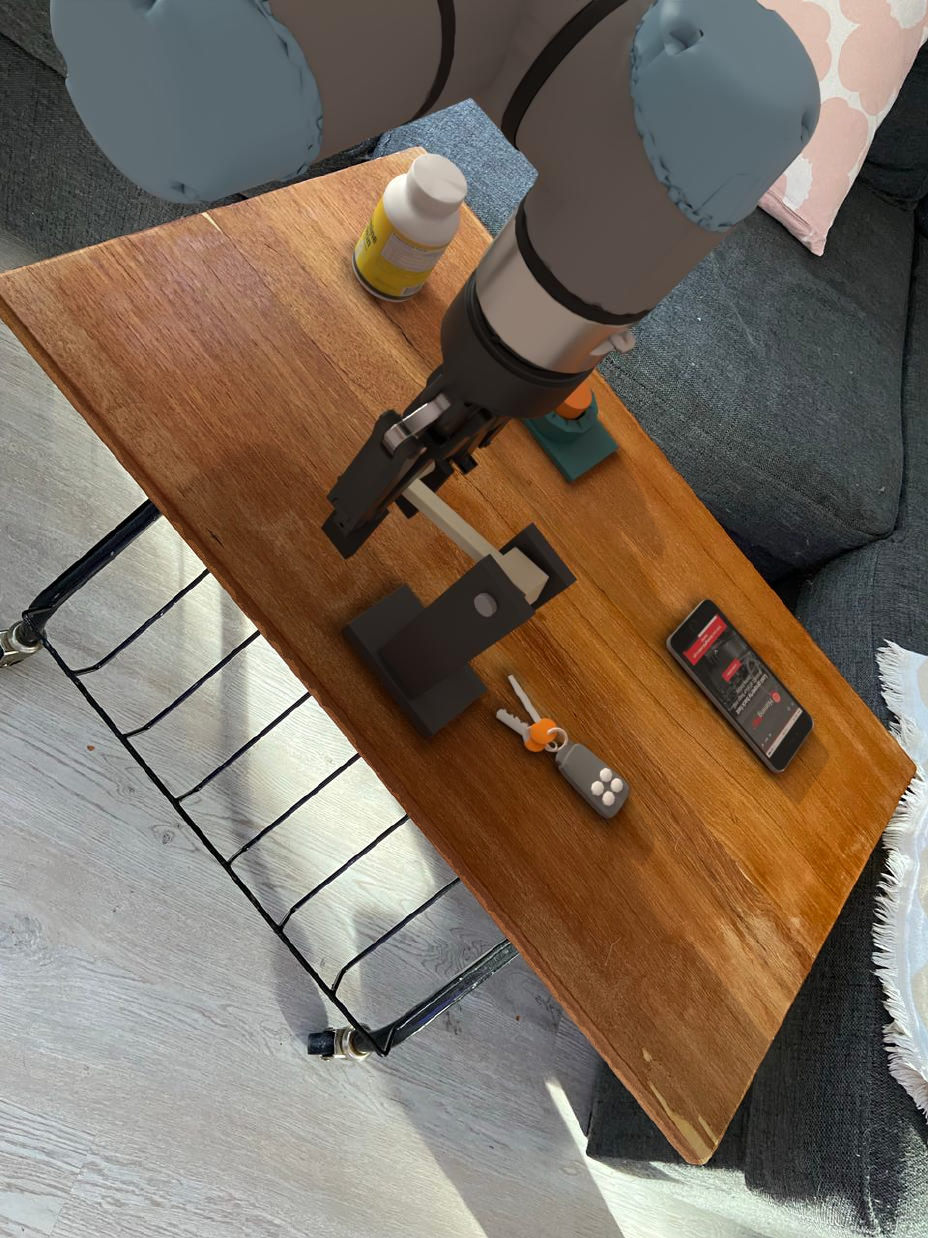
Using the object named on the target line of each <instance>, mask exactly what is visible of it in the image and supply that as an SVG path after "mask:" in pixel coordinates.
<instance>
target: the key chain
mask: <svg viewBox="0 0 928 1238" xmlns="http://www.w3.org/2000/svg"><path fill="white" fill-rule="evenodd" d="M507 678H508V681H509V682H510V684H511V686H512V688H513V690H514V693H515V694H516V696H517V697H518V699H520V701H521V703H522V705H523V708H524V709H525V710H526V712H528V714H529V715H530V717H531V719H532V720H533V722H534V723H533V724H532V725H531V726H530V725H529V724H528V723H527V722H521V720H520V718H519V717H518V716H514V714H512V713H510V714H509V713H507V709H505V708H503V709H502V708H500V709H499V710H498V711H496V716H495V717H496V719H498V720H499V721H501V722H502V723H503V724H505V725H507V726H508V727H509V728H511V729H512V730H514V731H515V732H516V733H518V734H519V735H521V736H522V740H523V745H524V747H525V748H526V749H527V750H528V751H531V752H533V753H537V752H542V751H543V750H546V751H548V752H550V753H551V752H552V753H557V754H556V755H555V763H557V764H558V771H559V772H560V773H561V775H562V776H563V778H565V780H566V781H567V782H568V783H569V784H570V785H571V786H572V787H573V788H574V789H575V791H576V792H577V793H578V794H579V795H580V796H581V798H583V799H584V800H585V801H586V803H588V805H589V806H591V808H593V810H594V811H595V812H596V813H597V814H598V815H600V817H603V818H604V819H606V820H607V819H611V818H612V817H615V816H616V815H617V814H618V812H619V811H620V810H621V808H622V806H623V805H624V803H625V801H626V799H627V798H628V796H629V793H630V786H629V785H628V783H627V782H626V780H625V779H624V778H623V777H622V776H620V775H619V774H618V773H617V772H616V771H615V770H613V769H612V768H611V767H610V766H609V765H608V764H606V763H605V762H604V761H603V760H602V759H601V758H599V756H597V755H596V754H594V752H592V750H590V749H589V748H588V747H586V746H585V745H583V744H581V743H580V742H578V743H574V742H573V741H569V737H568V733H567V732H566V731H565V730H564V729H562V728H560V727H557V724H556V723H555V722H554V720H553V719H550V718H549V717H546V718H541V716H540V714H539V713H538V712H537V710H536V709H535V707H533V705H532V703H531V701H530V698H528V696H527V694H526V693H525V691H523V689H522V687H521V686H520V684H519V683H518V681H517V679H516V678H515V677H514V675H513V674H511V675H509V676H507ZM558 732H559V733H560V734H562V736H563V738H564V741H563V744H562V745H561V746H560V747H558V744H557V742H556V741H555V738H556V737H557V735H558ZM549 743H553V744H554V745H555V746H554V747H552V746H550V744H549Z"/></svg>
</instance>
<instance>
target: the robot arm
mask: <svg viewBox="0 0 928 1238" xmlns="http://www.w3.org/2000/svg"><path fill="white" fill-rule="evenodd" d="M49 12H50V13H49V14H50V19H49V21H50V27H51V34H52V38H53V40H54V41H53V42H54V44H55V47H56V48H57V49H58V51H59V52H60V54H61V55H62V57H63V60H64V61H65V64H66V71H67V73H66V76H65V80H64V81H65V87H66V90H67V92H68V94H69V97H70V99H71V101H72V104H73V106H74V108H75V110H76V112H77V114H78V116H79V118H80V119H81V121H82V123H83V125H84V127H85V128H86V130H87V131H88V133H89V135H90V136H91V138H92V139H93V141H94V142H95V144H96V145H97V146H98V148H99V149H100V150H101V152H102V153H103V154H104V156H106V157H107V159H108V160H109V161H110V163H111V164H112V165H113V166H114V167H115V168H116V169H117V170H118V171H119V172H120V173H121V174H122V175H123V176H125V177H126V179H128V180H129V181H130V182H132V183H133V184H134V185H136V186H137V187H139V188H140V189H142V190H143V191H144V192H146V193H148V194H150V195H152V196H154V197H156V198H159V199H161V200H164V201H167V202H170V203H173V204H181V205H196V204H197V205H198V204H205V203H206V204H207V203H211V202H215V201H218V200H221V199H224V198H227V197H230V196H232V195H235V194H236V195H237V194H238V193H241V192H244V191H247V190H249V189H253V188H256V187H259V186H261V185H264V184H268V183H270V182H273V181H275V182H276V181H278V182H281V183H285V182H287V181H289V180H290V181H291V180H292V179H295V178H297V177H300V176H301V175H303V174H305V173H306V172H307V170H309V168H310V166H312V165H314V164H317V163H319V162H321V161H324V160H325V159H327V158H330V157H332V156H334V155H336V154H339V153H341V152H343V151H346V150H348V149H350V148H352V147H355V146H357V145H359V144H362V143H363V142H364V143H365V142H366V141H368V140H371V139H374V137H377V136H379V135H382V134H384V133H386V132H388V131H391V130H393V129H397V128H399V127H402V126H407V125H408V124H409V125H410V124H411V123H414V122H417V121H418V120H421V119H423V118H426V117H429V116H430V115H433V114H436V113H438V112H440V111H443V110H445V109H448V108H450V107H453V106H455V105H457V104H458V105H459V104H460V103H462V102H465V101H467V100H469V99H471V100H472V101H473V102H474V104H476V106H478V108H479V109H480V110H481V111H482V112H483V114H485V115H486V117H487V118H488V119H489V120H490V121H491V122H492V123H493V124H494V125H495V127H496V128H497V129H498V130H499V131H500V132H501V134H502V135H503V137H504V138H505V139H506V140H507V142H508V143H509V145H511V146H512V147H513V149H514V150H515V151H518V152H520V153H521V154H522V155H523V156H524V158H525V159H526V160H527V162H528V163H529V164H530V165H531V166H532V167H533V168H534V169H535V171H536V172H537V176H536V178H535V181H534V182H533V184H532V185H531V187H530V188H529V189H528V191H527V193H525V195H524V196H523V198H522V199H521V201H520V202H519V203H518V205H517V206H516V207H515V208H514V210H513V212H512V213H511V214H510V216H509V217H508V219H507V220H506V221H505V223H504V224H503V226H502V227H501V228H500V230H499V231H498V232H497V234H496V235H495V237H494V238H493V240H492V241H491V243H490V244H489V245H488V247H487V248H486V250H485V251H484V253H482V255H481V257H480V260H479V261H478V264H477V266H476V267H475V268H474V269H473V271H472V272H471V273H470V274H469V276H468V277H467V279H466V280H465V282H464V284H463V285H462V287H461V288H460V290H459V291H458V292H457V294H456V295H455V297H454V298H453V299H452V301H451V302H450V304H449V305H448V307H447V309H446V310H445V312H444V314H443V317H442V320H441V322H440V328H439V330H440V331H439V342H440V349H441V357H442V363H440V364H439V365H438V366H437V367H436V368H435V369H434V370H433V371H432V372H431V373H430V375H429V376H428V377H427V379H426V381H425V387H424V388H423V389H422V390H421V391H420V393H418V395H417V396H416V397H414V399H413V400H412V401H411V402H410V404H409V405H408V406H407V407H406V408H405V409H404V411H403V412H402V414H401V413H400V412H397V411H396V410H395V409H394V408H391V409H388V410H385V411H383V412H382V413H381V414H380V415H379V416H378V419H376V421H375V423H374V426H373V429H372V431H371V434H370V436H369V437H368V439H367V440H366V441H365V443H364V444H363V446H362V447H361V449H360V450H359V451H358V452H357V454H356V455H355V456H354V458H353V459H352V461H350V463H349V465H348V466H347V467H346V469H345V470H344V472H343V473H342V474H341V475H338V476H337V478H336V480H337V481H336V483H335V484H334V485H333V486H332V488H331V489H330V490H329V492H328V494H327V495H326V497H325V498H326V500H327V501H328V502H329V504H330V505H331V506H332V507H333V510H332V511H331V513H330V514H329V515H328V517H327V518H326V519H325V521H324V523H323V524H322V525H321V527H320V530H321V531H322V532H323V534H324V535H325V536H326V537H327V539H328V540H329V541H330V542H331V544H332V545H333V546H334V547H335V549H336V550H337V551H338V553H339V554H340V555H341V557H342V558H343V559H344V560H345V561H347V560H348V559H350V558H352V557H353V556H355V554H357V551H359V549H360V548H361V547H362V546H363V545H364V544H365V542H366V541H367V540H368V539H369V538H370V536H372V535H373V533H374V532H375V531H376V530H377V528H378V527H379V526H380V525H381V524H382V522H383V521H384V520H385V519H386V518H387V516H388V515H389V514H390V513H391V511H390V509H388V508H389V507H390V506H391V505H392V504H394V503H395V505H396V506H397V507H398V509H399V510H400V511H401V512H402V514H403V515H404V516H405V518H406V519H407V520H410V519H411V518H413V517H414V516H416V515H417V514H418V513H419V512H420V510H419V509H417V508H416V507H415V506H414V505H413V504H412V503H411V502H410V501H409V500H408V499H407V498H405V497H404V496H403V495H402V493H403V492H404V491H405V490H406V489H407V488H408V487H409V486H410V485H411V484H412V483H413V482H414V481H415V480H416V479H417V478H418V477H419V476H420V475H421V474H422V473H423V472H424V471H425V470H426V469H427V468H428V467H429V466H430V465H431V464H432V463H433V462H435V468H434V470H433V471H432V472H430V473H429V474H427V475H425V476H424V477H422V478H421V479H419V480H420V481H421V482H422V483H423V484H425V485H426V486H427V487H428V488H429V489H430V490H431V491H432V492H433V493H435V494H436V493H437V492H438V491H439V490H440V488H441V487H442V486H443V485H444V484H445V483H446V482H447V481H448V480H449V478H451V477H452V476H453V474H454V473H455V472H456V469H455V468H454V467H453V465H454V464H455V466H456V468H458V469H459V471H460V472H461V474H462V475H463V476H466V475H468V474H469V473H471V472H472V471H473V470H475V469H476V468H477V467H478V465H479V463H478V462H477V461H476V459H475V458H474V457H473V453H475V451H476V449H477V448H478V449H479V450H483V449H484V448H488V447H489V446H490V445H491V444H492V441H494V439H495V438H496V437H497V436H498V435H499V434H500V433H501V431H502V430H503V429H504V428H505V427H506V426H507V425H508V424H509V423H510V422H511V420H512V419H514V420H515V419H516V420H520V419H534V418H539V417H542V416H545V415H547V414H549V413H551V412H553V411H554V410H555V409H557V408H558V407H559V406H560V405H561V404H562V403H563V402H564V401H565V400H566V399H567V398H568V397H569V396H570V395H571V394H572V393H573V392H574V391H575V390H576V389H577V388H578V387H579V386H580V385H581V384H582V382H583V381H585V380H587V379H588V377H589V376H590V375H591V374H593V371H594V370H595V368H596V367H597V366H599V364H600V363H601V362H602V361H603V360H604V359H605V358H606V357H608V355H609V354H610V353H611V352H612V351H613V350H614V349H615V351H616V352H617V353H619V354H620V355H628V354H629V353H630V352H631V351H632V350H633V349H634V348H635V346H636V344H637V340H636V338H635V336H634V334H632V333H631V331H630V330H631V329H632V328H634V327H636V326H637V325H638V324H640V323H641V321H643V319H644V318H645V317H647V316H648V315H649V314H650V313H651V312H652V311H653V310H654V309H655V308H656V307H657V306H658V305H659V304H660V303H661V302H662V301H663V300H664V299H665V298H667V296H668V295H669V294H670V293H671V292H672V291H674V289H676V287H677V286H678V285H679V284H681V282H683V280H684V279H685V278H687V276H689V274H690V273H692V271H694V270H695V269H696V268H697V266H698V265H700V264H701V262H703V261H704V260H705V259H706V258H707V257H708V256H709V255H710V254H711V253H712V252H713V251H714V250H715V249H716V248H717V247H718V246H719V245H720V244H721V243H722V242H723V241H724V240H725V239H726V238H727V237H728V236H729V235H730V234H731V233H732V232H733V231H734V230H735V229H736V228H737V227H738V226H739V225H740V224H741V223H743V221H745V220H746V219H747V218H748V217H749V216H750V215H751V214H752V213H753V212H754V211H755V210H756V208H757V206H758V203H759V201H760V200H761V199H762V198H763V196H765V194H766V193H767V192H768V191H769V190H770V188H771V187H772V186H773V185H774V184H775V183H776V181H778V179H779V178H780V177H781V176H782V175H783V174H784V173H785V171H786V170H787V169H788V168H789V167H790V166H791V165H792V163H794V161H796V159H797V158H798V157H799V155H801V153H803V151H804V149H805V148H806V147H807V146H808V144H809V143H810V141H811V140H812V137H813V136H814V134H815V132H816V129H817V126H818V124H819V120H820V116H821V115H820V114H821V108H822V99H821V98H822V97H821V96H822V95H821V88H820V82H819V78H818V75H817V71H816V68H815V66H814V62H813V60H812V59H811V57H810V55H809V53H808V51H807V50H806V47H805V45H804V44H803V42H802V41H801V39H800V37H799V36H798V35H797V33H796V32H795V30H794V29H793V28H792V26H791V25H790V24H789V23H788V22H787V21H786V20H785V19H784V17H782V15H781V14H780V13H779V12H778V11H776V10H775V9H770V8H767V7H765V6H764V5H763V4H761V3H760V2H759V1H758V0H50V2H49Z"/></svg>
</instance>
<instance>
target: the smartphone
mask: <svg viewBox="0 0 928 1238" xmlns="http://www.w3.org/2000/svg"><path fill="white" fill-rule="evenodd" d="M666 649H667V650H668V652H669V653H670V654H671V655H672V656H673V658H674V659H675V660H676V661H677V663H679V665H680V666H681V667H682V668H683V669H684V671H686V673H687V674H688V675H689V676H690V677H691V679H693V681H694V682H695V683H696V684H697V686H698V687H699V688H700V689H701V690H702V691H703V693H705V695H706V696H707V697H708V699H710V701H711V702H712V703H713V704H714V706H715V707H716V708H717V709H718V710H719V711H720V713H721V714H723V716H724V717H725V719H727V721H728V722H729V723H730V724H731V725H732V726H733V728H734V729H735V730H736V731H737V732H738V733H739V735H740V736H741V737H742V739H744V740H745V742H746V743H747V744H748V745H749V746H750V748H751V749H752V750H753V751H754V752H755V753H756V755H757V756H758V757H759V758H760V759H761V761H762V762H763V763H764V764H765V766H767V767H768V769H769V770H770V771H771V772H772V773H775V774H779V773H782V772H784V771H785V770H786V768H787V766H788V765H789V764H790V762H791V761H792V760H793V758H794V756H795V755H796V753H797V752H798V751H799V749H800V748H801V747H802V745H803V743H804V742H805V740H806V739H807V738H808V736H809V735H810V733H811V732H812V730H813V729H814V727H815V722H814V719H813V717H812V716H811V714H810V713H809V711H808V710H806V708H805V707H804V706H803V705H802V704H801V703H800V701H798V699H797V698H796V697H795V696H794V694H792V692H791V691H790V690H789V688H788V687H786V685H785V684H784V683H783V681H781V679H780V678H779V677H778V676H777V675H776V673H775V672H774V671H773V670H772V668H770V666H769V665H768V664H767V663H766V662H765V660H764V659H763V658H762V657H761V656H760V654H759V653H758V652H757V651H756V650H755V649H754V648H753V646H752V645H751V644H750V643H749V642H748V641H747V639H746V638H745V637H744V636H743V634H742V633H741V632H740V631H739V630H738V629H737V628H736V626H735V625H734V624H733V622H732V621H730V619H729V618H728V617H727V616H726V615H725V613H724V612H723V611H722V610H721V609H720V607H719V606H718V605H717V603H715V602H714V600H712V599H711V598H705V599H703V600H701V601H700V602H699V603H698V604H697V605H696V607H695V608H694V609H693V610H692V611H691V612H690V613H689V614H688V615H687V616H686V618H685V619H684V620H683V621H682V622H681V623H680V624H679V625H678V627H677V628H676V629H675V630H674V631H673V632H672V633H671V635H669V637H668V638H667V639H666Z"/></svg>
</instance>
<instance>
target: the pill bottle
mask: <svg viewBox="0 0 928 1238" xmlns="http://www.w3.org/2000/svg"><path fill="white" fill-rule="evenodd" d="M467 194H468V183H467V179H466V177H465V176H464V174H463V172H462V171H461V170H460V169H459V167H458V166H457V165H456V164H455V163H454V162H453V161H451V160H449V159H448V158H446V157H444V156H442V155H439V154H436V153H423V154H421V155H418V156H417V157H416V158H415V159H414V160H413V162H412V164H411V166H410V167H409V169H408V171H407V173H402V174H400V175H397V176H396V177H394V178H393V179H391V180H390V181H389V183H388V184H387V186H386V187H385V189H384V191H383V194H382V195H381V198H380V199H379V201H378V203H377V205H376V207H375V209H374V210H373V213H372V215H371V216H370V219H369V220H368V222H367V224H366V226H365V228H364V230H363V232H362V234H361V236H360V237H359V239H358V241H357V243H356V245H355V247H354V250H353V253H352V259H351V261H352V262H351V263H352V264H351V265H352V269H353V272H354V275H355V277H356V278H357V280H358V282H359V283H360V284H361V286H362V287H363V288H364V289H365V290H366V291H367V292H369V293H370V294H371V295H373V296H374V297H376V298H378V299H381V300H383V301H385V302H389V303H390V302H391V303H403V302H406V301H408V300H409V301H410V300H411V299H412V298H414V297H415V296H417V295H418V293H419V292H420V291H421V289H422V288H423V286H424V284H426V281H427V280H428V278H429V276H430V275H431V274H432V272H433V270H434V269H435V267H436V265H437V264H438V263H439V261H440V259H441V258H442V256H443V255H444V253H445V252H446V250H447V248H448V247H449V246H450V244H451V242H452V241H453V239H454V238H455V237H456V234H457V233H458V231H459V228H460V224H461V214H460V208H461V206H462V205H463V202H464V201H465V199H466V197H467Z"/></svg>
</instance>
